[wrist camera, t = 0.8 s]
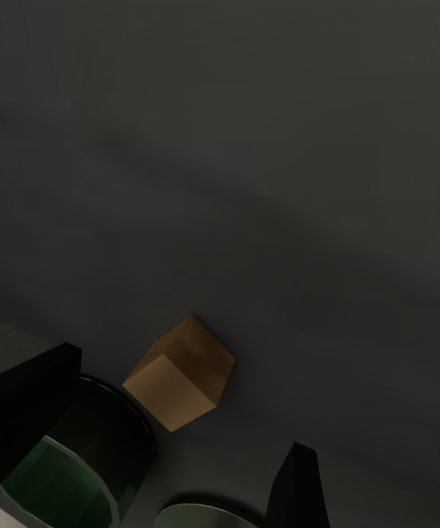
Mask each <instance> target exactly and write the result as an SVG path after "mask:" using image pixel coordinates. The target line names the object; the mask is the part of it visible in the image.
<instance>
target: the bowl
mask: <svg viewBox="0 0 440 528" xmlns="http://www.w3.org/2000/svg"><path fill="white" fill-rule="evenodd" d="M155 453H156V445H155V439H154V435H153V432H152V430H151V428H150V426H149V424H148V422H147V420H146V419H145V417H144V416H143V414H142V413H141V412H140V410H139V409H138V408H137V407H136V406H135V405H134V404H133V403H132V402H131V401H130V400H129V399H128V398H127V397H126V396H125V395H123V394H122V393H121V392H119V391H118V390H117V389H115V388H114V387H112V386H111V385H109V384H107V383H105V382H103V381H101V380H99V379H97V378H94V377H92V376H89V375H85V374H81V373H80V387H79V393H78V395H77V396H76V397H75V399H74V400H73V402H72V403H71V404H70V406H69V407H68V409H67V410H66V411H65V413H64V414H63V415H62V417H61V418H60V419H59V421H58V422H57V423H56V424H55V425H54V426H53V427H52V428H51V430H50V431H49V432H48V433H47V434H46V435H45V436H44V437H43V438H42V440H41V441H40V442H39V443H38V444H37V445H36V446H35V447H34V448H33V449H32V450H31V452H30V453H29V454H28V455H27V456H26V457H25V458H24V459H23V460H22V461H21V462H20V464H19V465H18V466H17V467H16V468H15V469H14V470H13V471H12V472H11V473H10V474H9V475H8V477H7V478H6V479H5V480H4V481H3V482H2V483H1V484H0V491H1V492H2V494H3V495H4V496H5V497H6V498H7V499H8V500H9V501H10V502H11V503H12V504H14V505H15V506H16V507H17V508H18V509H19V510H20V511H21V512H22V513H23V514H25V515H26V516H28V517H29V518H31V519H32V520H34V521H35V522H37V523H39V524H40V525H42V526H43V527H45V528H119V526H120V524H121V523H122V521H123V519H124V517H125V515H126V513H127V511H128V509H129V507H130V505H131V503H132V502H133V500H134V498H135V496H136V494H137V492H138V490H139V488H140V486H141V484H142V482H143V480H144V479H145V477H146V475H147V473H148V471H149V469H150V467H151V465H152V463H153V461H154V457H155Z"/></svg>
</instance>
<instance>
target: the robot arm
mask: <svg viewBox="0 0 440 528" xmlns="http://www.w3.org/2000/svg"><path fill="white" fill-rule="evenodd" d="M81 355H82V349H81V348H78V347H76V346H74V345H71V344H69V343H67V342H65V343H63V344H61V345H59V346H56V347H54V348H52V349H50V350H48V351H46V352H44V353H42V354H40V355H38V356H36V357H34V358H32V359H30V360H28V361H26V362H24V363H22V364H19V365H17V366H15V367H13V368H11V369H9V370H7V371H4V372H2V373H0V484H1V483H2V482H3V481H4V480H5V479H6V478H7V477H8V475H9V474H10V473H11V472H12V471H13V470H14V469H15V468H16V467H17V466H18V465H19V464H20V462H21V461H22V460H23V459H24V458H25V457H26V456H27V455H28V454H29V453H30V452H31V450H32V449H33V448H34V447H35V446H36V445H37V444H38V443H39V442H40V441H41V440H42V438H43V437H44V436H45V435H46V434H47V433H48V432H49V431H50V430H51V428H52V427H53V426H54V425H55V424H56V423H57V422H58V421H59V419H60V418H61V417H62V415H63V414H64V413H65V411H66V410H67V409H68V407H69V406H70V404H71V403H72V402H73V400H74V399H75V397H76V396H77V395H78V393H79V387H80V371H81ZM264 528H330V525H329V520H328V516H327V511H326V506H325V501H324V496H323V491H322V486H321V480H320V474H319V467H318V460H317V454H316V452H315V450H313V449H310V448H308V447H306V446H303V445H301V444H299V443H296V442H294V443H293V445H292V447H291V449H290V451H289V453H288V455H287V457H286V459H285V461H284V462H283V464H282V466H281V468H280V470H279V472H278V474H277V476H276V478H275V480H274V482H273V486H272V490H271V494H270V498H269V503H268V507H267V512H266V516H265V522H264Z"/></svg>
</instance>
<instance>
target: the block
mask: <svg viewBox="0 0 440 528" xmlns="http://www.w3.org/2000/svg"><path fill="white" fill-rule="evenodd" d="M235 360H236V359H235V358H234V357H233V356H232V355H231V354H230V353H229V352H228V351H227V350H226V348H225V347H224V346H223V345H222V344H221V343H220V342H219V341H218V340H217V339H216V338H215V337H214V336H213V335H212V334H211V333H210V332H209V331H208V330H207V329H206V328H205V327H204V326H203V325H202V324H201V323H200V322H199V321H198V320H197V319H196V318H195V317H194V316H193V315H192V314H190V315H189V316H188V317H186V318H185V319H184V320H183V321H181V322H180V323H179V324H178V325H176V326H175V327H174V328H173V329H171V330H170V331H169V332H168V333H166V334H165V335H164V336H163V337H161V338H160V339H159V340H157V341H156V342H155V343H154V344H153V345H152V346H151V348H150V349H149V350H148V352H147V353H146V354H145V355H144V357H143V358H142V359H141V361H140V362H139V363H138V365H137V366H136V367H135V368H134V370H133V371H132V372H131V374H130V375H129V376H128V377H127V379H126V380H125V381H124V383H123V384H122V386H123V387H124V388H125V389H126V390H128V391H129V392H130V393H131V394H132V395H133V396H134V397H135V398H136V399H137V400H138V401H139V402H140V403H141V404H142V405H143V406H144V407H145V408H146V409H147V410H148V411H149V412H150V413H151V414H152V415H153V416H154V417H155V418H156V419H157V420H159V421H160V422H161V423H162V424H163V425H164V426H165V427H166V428H167V429H168V430H169V431H170V432H172V431H174V430H176V429H178V428H180V427H181V426H183V425H185V424H187V423H189V422H190V421H192V420H194V419H196V418H197V417H199V416H201V415H203V414H205V413H206V412H208V411H210V410H212V409H214V408H215V407H216V406H217V404H218V402H219V399H220V397H221V394H222V392H223V389H224V387H225V385H226V382H227V380H228V377H229V375H230V372H231V370H232V367H233V365H234V363H235Z"/></svg>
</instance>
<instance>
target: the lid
mask: <svg viewBox="0 0 440 528" xmlns="http://www.w3.org/2000/svg"><path fill="white" fill-rule="evenodd" d="M154 528H264V525H263V524H261V523H260V522H258V521H257V520H255V519H254V518H252V517H251V516H249V515H247V514H245V513H243V512H241V511H239V510H237V509H235V508H233V507H230V506H228V505H225V504H222V503H218V502H215V501H211V500H206V499H198V498H184V499H178V500H174V501H171V502H169V503H167V504H166V505H164V506H163V507H162V508H161V509H160V510H159V512H158V514H157V516H156V519H155V522H154Z"/></svg>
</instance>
